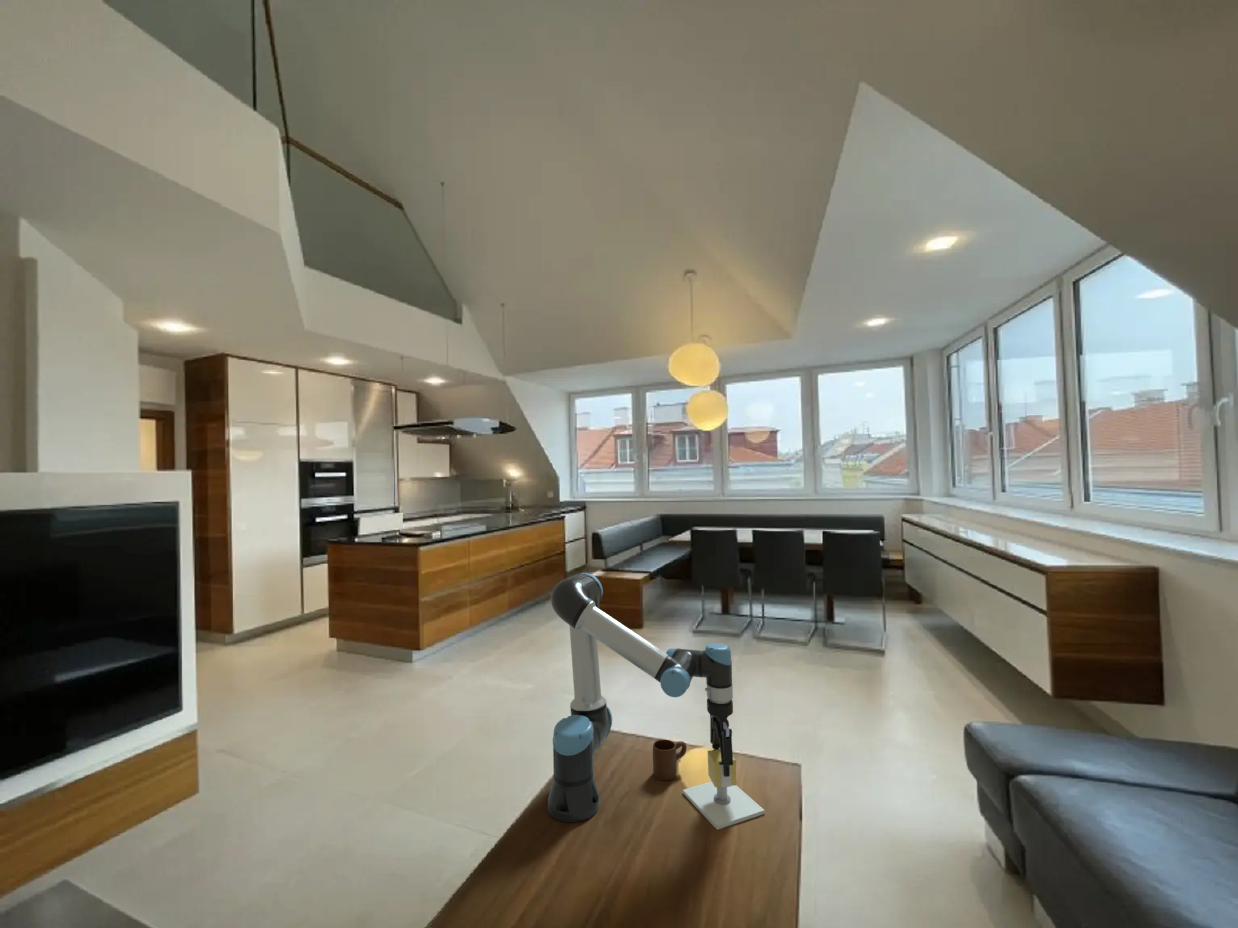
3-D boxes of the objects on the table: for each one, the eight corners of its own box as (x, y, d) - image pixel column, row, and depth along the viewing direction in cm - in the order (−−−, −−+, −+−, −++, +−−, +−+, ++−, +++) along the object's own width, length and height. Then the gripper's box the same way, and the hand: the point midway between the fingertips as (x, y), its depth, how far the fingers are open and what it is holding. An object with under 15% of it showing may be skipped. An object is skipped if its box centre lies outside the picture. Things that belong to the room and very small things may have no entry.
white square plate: (682, 793, 151) (682, 763, 152) (726, 780, 158) (726, 752, 158) (717, 829, 135) (716, 796, 135) (764, 813, 141) (763, 782, 142)
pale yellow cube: (708, 774, 149) (707, 750, 150) (729, 772, 150) (728, 748, 151) (714, 787, 143) (714, 761, 143) (736, 785, 144) (735, 759, 144)
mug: (680, 762, 168) (680, 734, 169) (692, 774, 161) (692, 744, 162) (649, 771, 163) (648, 741, 164) (660, 783, 156) (659, 752, 157)
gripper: (698, 686, 157) (700, 762, 156) (717, 713, 138) (719, 800, 137) (721, 685, 158) (723, 760, 157) (743, 711, 139) (746, 797, 137)
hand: (722, 778), depth 147 cm, fingers closed on pale yellow cube, 6 cm apart
